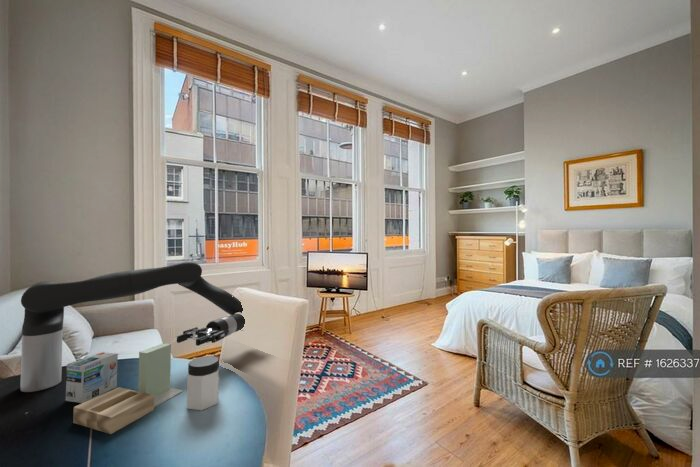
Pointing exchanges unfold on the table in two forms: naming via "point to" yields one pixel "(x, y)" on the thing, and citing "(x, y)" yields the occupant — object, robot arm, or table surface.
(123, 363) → the table surface
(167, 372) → the grey-green angular block
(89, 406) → the grooved wooden block
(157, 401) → the mat
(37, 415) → the table surface
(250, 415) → the table surface
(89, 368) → the light bulb box
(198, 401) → the jar
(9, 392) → the table surface
